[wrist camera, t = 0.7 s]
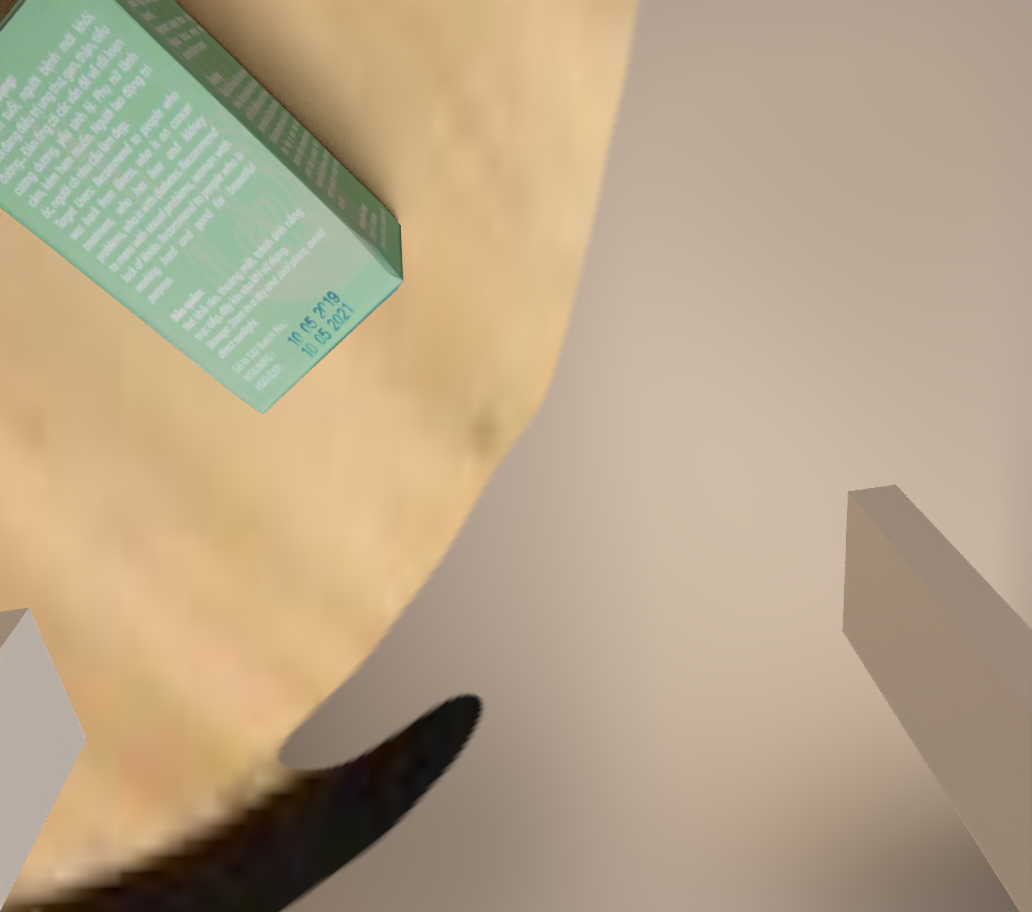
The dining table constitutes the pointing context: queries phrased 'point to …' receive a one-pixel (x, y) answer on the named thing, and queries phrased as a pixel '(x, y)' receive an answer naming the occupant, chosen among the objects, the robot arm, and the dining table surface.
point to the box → (187, 190)
